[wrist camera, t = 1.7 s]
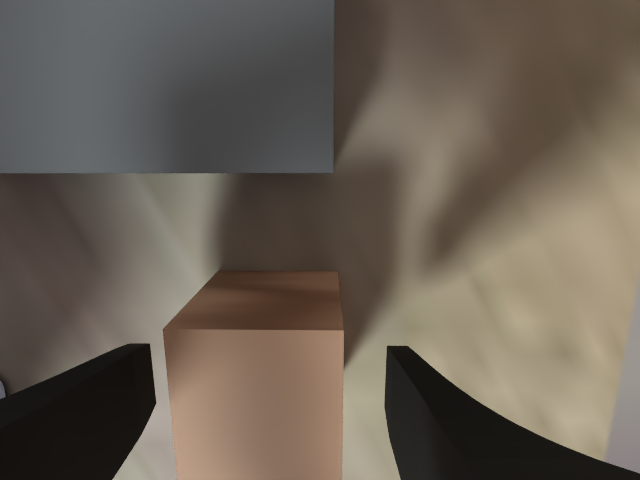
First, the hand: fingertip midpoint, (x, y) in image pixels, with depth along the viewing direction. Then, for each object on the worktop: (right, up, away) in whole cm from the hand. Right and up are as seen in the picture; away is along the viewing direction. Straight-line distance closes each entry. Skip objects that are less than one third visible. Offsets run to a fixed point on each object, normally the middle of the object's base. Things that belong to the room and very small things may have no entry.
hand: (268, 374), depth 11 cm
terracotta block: (0, +1, +3) cm, 3 cm away
